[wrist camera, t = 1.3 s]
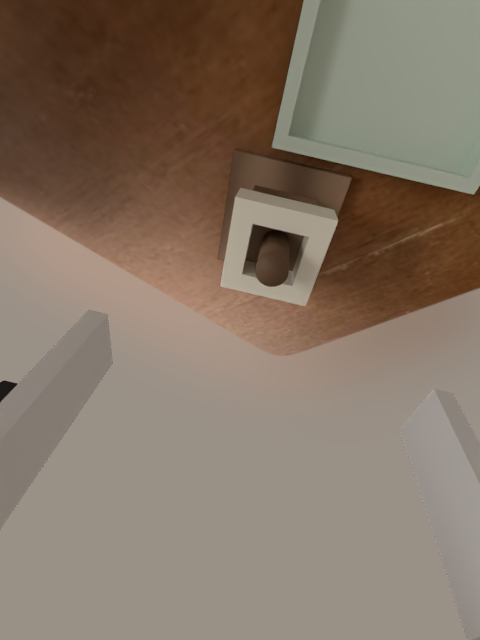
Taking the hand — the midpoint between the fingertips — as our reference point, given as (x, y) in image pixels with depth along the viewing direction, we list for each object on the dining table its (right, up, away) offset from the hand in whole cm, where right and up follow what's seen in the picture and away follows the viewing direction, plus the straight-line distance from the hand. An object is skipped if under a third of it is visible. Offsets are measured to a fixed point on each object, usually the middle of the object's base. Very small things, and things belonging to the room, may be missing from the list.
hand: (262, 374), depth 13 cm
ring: (+2, +8, +12) cm, 15 cm away
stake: (+3, +12, +17) cm, 21 cm away
